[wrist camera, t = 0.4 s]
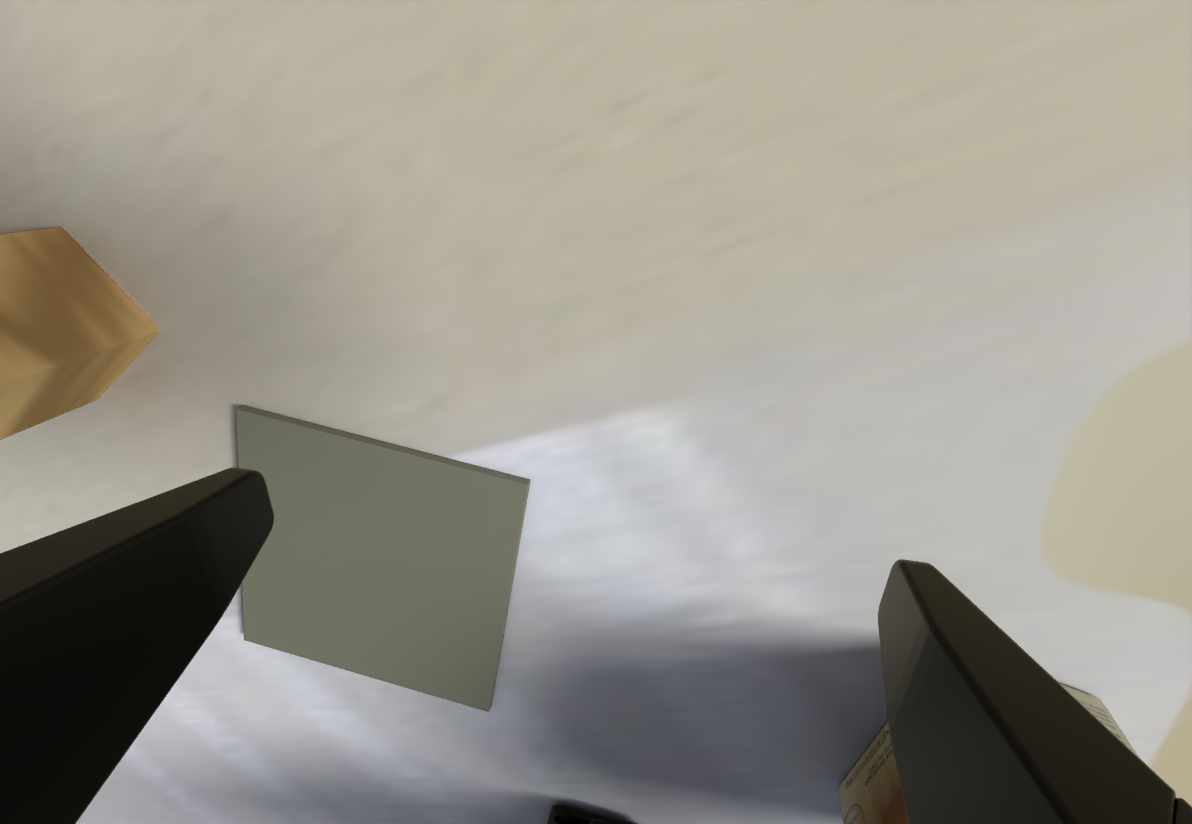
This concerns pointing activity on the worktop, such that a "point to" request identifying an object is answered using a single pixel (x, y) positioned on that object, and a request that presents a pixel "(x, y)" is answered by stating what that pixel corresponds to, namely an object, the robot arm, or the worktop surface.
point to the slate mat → (381, 557)
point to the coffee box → (875, 783)
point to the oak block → (59, 328)
